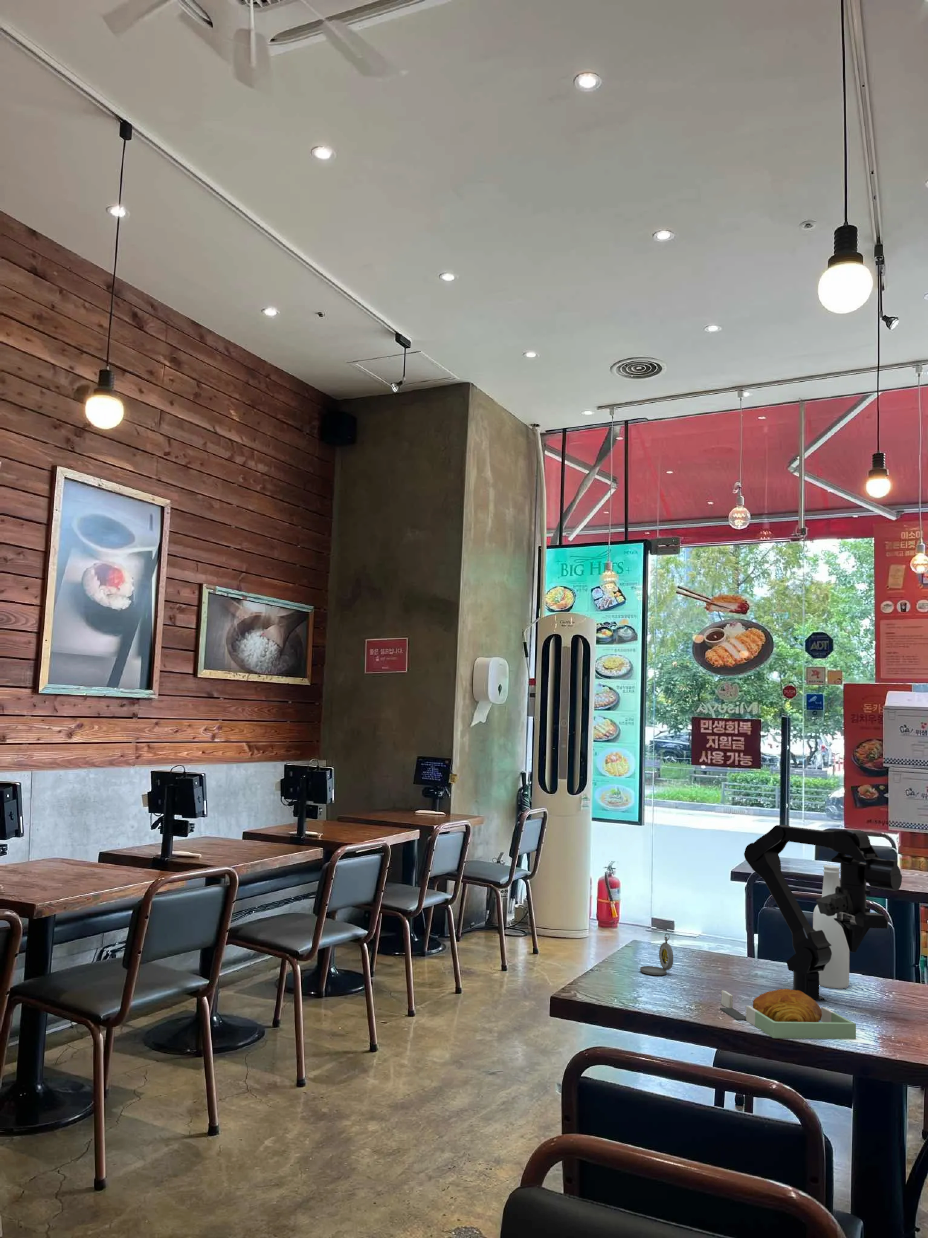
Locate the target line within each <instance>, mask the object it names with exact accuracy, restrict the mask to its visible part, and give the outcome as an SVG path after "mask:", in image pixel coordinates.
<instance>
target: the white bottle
mask: <svg viewBox="0 0 928 1238" xmlns="http://www.w3.org/2000/svg"><path fill="white" fill-rule="evenodd" d="M822 871H823V879H822V892H821V898H822V897H824V896H827V895H830V894H834V893H835V888H836V886H840V866H839V865H831V864H825V865H823V870H822ZM834 918H837V913H836V914H835V915H833V916H826V914H821V913H820V911H819V908H818V905H817V904H816V905H815V906H814V909H813V914H812V928H813V929H814V930H815V931H818V930H822V931H823V932H824V934H825V937H826V939H827V941H828V942H829V943H830V944H831V946H829V947H830V949H831V952H832V955H831V959H830V961H829V962H828V963H827V964H826V965H825V968H824V970H823V971H818V972H819V985H820V986H819V987H822V986H824V987H823V988H828V989H833V988H838V989H837V990H842V989H843V988H845V989H847V988H848V986H849V985H850V950H849V947H848V944H847V940H846V937H845V934H844V931H843V928H842V926H841V925H840V924H839V923H838V922H837V921H835V920H834ZM843 990H844V989H843Z"/></svg>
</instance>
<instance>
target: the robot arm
mask: <svg viewBox="0 0 928 1238" xmlns="http://www.w3.org/2000/svg"><path fill="white" fill-rule="evenodd" d="M788 843H797V844H804V845H810V846H811V845H812V846H817V847H824V848H827V849H830V850H831V851H834V852H837V854H836V855H835V856H833V857H832V858H831V859H830V861H831V862H833V863H837V864H838V863H839V864H840V866H839V867H840V869H839V872H840V874H839V879H840V886H836V888H835V893H834V894H830V895H827V896H824V897H822V896H821V897H819V898H817V899H816V900H815V901H816V905H818V908H819V911H820V913H821V914H826V916H833V915H835V914H836V913H837V918H834V920H835V921H837V922H838V923H839V924H840V925H841V926H842V928H843V931H844V934H845V937H846V940H847V944H848V947H849V953H856V952H857V951H858V950H859V947H860V946H861V944H862V942H863V939H864V938H865V936H866V935H867V933H868V932H869V930H870V929H887V930H888V929H889V919H888V918H887V916H886V915H884V914H881V913H877V912H871V907H867V895H869V896H870V895H871V890H870V889H867V884H868V885H869V886H870V887H871V888H875V889H883V890H888V891H894V892H897V891H899V890H900V888H901V887H902V881H903V876H902V875H903V874H901V873H902V872H901V869H900V867H899V866H898V860H897V859H896V860H895V859H883V858H880V856H879V854H878V853H877V852H876V850H875V849H874V847H873V845H872V843H871V839H870V836H869V835H868V834H867V833H866V832H865V831H864V830H860V829H847V830H846V829H845V830H831V831H828V830H822V829H821V830H820V829H813V828H804V827H799V826H790V825H788V824H776V825H774V826H773V827H772V828H771V829H770V830H769V831H768V832H766V833H765V834H763V835H762V836H760V837H758V838H757V839H756V840H755V841H754V842H751V843H749V844H747V845H746V847H745V849H744V852H743V856H744V859H745V861H746V862H747V864H748V865H749V867H750V868H751V869H752V871H753V872H755V873H756V874H757V875H758V876H759V877H760V878H761V879H762V880H763V881H764V882H765V885H766V887H767V889H768V891H769V893H770V894H771V896H772V898H773V900H774V902H775V904H776V907H778V910H779V912H780V913H781V915H782V917H783V919H784V920H785V923H786V925H787V926H788V928H789V930H790V932H791V935H792V936H791V938H792V939H791V940H792V948H793V951H794V954H793V955H792V956H791V957H790V958H789V959H787V960H786V965H787V969H788V971H790V972H792V973H793V974H792V976H793V979H792V981H793V982H792V983H793V986H792V987H793V988H792V990H799V991H802V992H803V993H805V994H806V995H808V996H809V997H811V998H812V999H813V1000H814V1001H825V1000H826V998H825V997H823V996H821V995H820V986H819V972H818V971H823V970H824V968H825V965H826V964H827V963H828V962H829V961H830V959H831V955H832V952H831V949H830V947H829V946H831V944H830V943H829V942H828V941H827V939H826V937H825V934H824V932H823V931H822V930H818V931H815V930H814V929H813V926H811V924H810V923H809V921H808V919H807V918H806V916H805V914H804V912H803V909H802V908H801V906H800V904H799V903H798V900H797V898H796V897H795V895H794V894H793V891H792V890H791V887H790V885H789V884H788V882H787V880H786V879H785V877H784V875H783V872H782V861H781V858H780V854H781V852H783V851H784V849H785V848H786V846H787V844H788Z"/></svg>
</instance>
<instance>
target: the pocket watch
mask: <svg viewBox="0 0 928 1238" xmlns="http://www.w3.org/2000/svg"><path fill="white" fill-rule="evenodd" d="M663 937H664V940H665V941H664V942H663V943H661V945H660V947H659V950H658V953H659V954H658V959H659V962H660V965H661V967H660V966H653V965H652V966H651V965H644V966H642V965H641V966H639V967H640V968H639V971H640V972H642V973H644V974H646V975H652V976H663V975H666V973H667V971H669V970H671V969H672V967H673V965H674V952H673V949H672V946H671V945H670V943H668V940H670V934H669V933H667V932H666V933H665V934H664V936H663Z"/></svg>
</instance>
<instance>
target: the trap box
mask: <svg viewBox="0 0 928 1238" xmlns="http://www.w3.org/2000/svg"><path fill="white" fill-rule="evenodd" d="M733 997H734V995H732V994H731V993H729V992H728V991H726V990H721V1005H722V1006H724V1007H720V1008H719V1010H721V1011H722V1012H724V1014H727V1015H728V1016H730V1017H731V1018H733V1019H734V1020H735V1021H746V1022H747V1023H749V1024H751V1025H752V1026H754V1027H756V1028H757V1029H759V1030H760V1029H761V1030H760V1031H762V1032H763V1031H764V1032H763V1033H765V1034H766V1035H768V1036H769V1037H771V1038H772V1039H810V1038H813V1040H814V1039H818V1040H819V1039H824V1040H827V1039H828V1040H829V1039H830V1040H831V1039H833V1040H834V1039H835V1040H836V1039H837V1040H854V1039H855V1040H856V1039H857V1023H856V1022H854V1021H851V1020H849V1019H847V1018H846V1017H844V1016H842V1015H840V1014H838V1013H836V1012H834V1011H832V1010H830V1009H829V1008H827V1007H825V1006H820V1008H821V1010H822V1017H821V1019H820V1020H819V1022H775V1021H773V1020H772V1019H770V1018H768V1017H767V1016H765V1015H764V1014H762V1013H760V1012H759V1011H757V1010H755V1009H754V1008H753V1006H750V1005H746V1006H745V1010H746V1011H745V1015H744V1014H742V1012H739V1011H738V1010H736V1009H735V1008H733V1006H734V1003H733V1001H734V998H733Z"/></svg>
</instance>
